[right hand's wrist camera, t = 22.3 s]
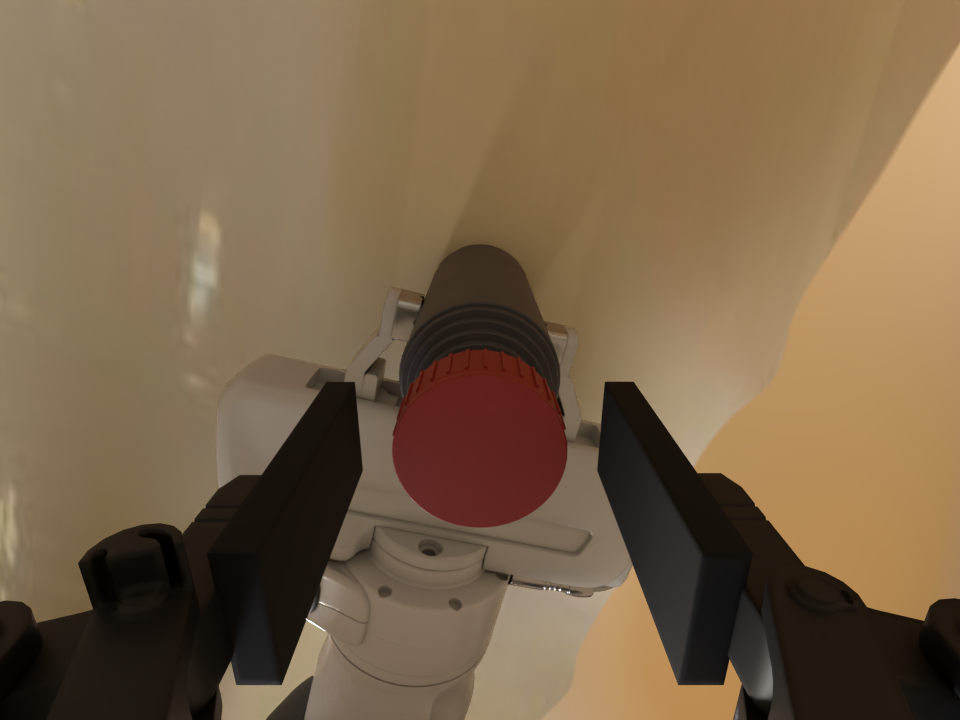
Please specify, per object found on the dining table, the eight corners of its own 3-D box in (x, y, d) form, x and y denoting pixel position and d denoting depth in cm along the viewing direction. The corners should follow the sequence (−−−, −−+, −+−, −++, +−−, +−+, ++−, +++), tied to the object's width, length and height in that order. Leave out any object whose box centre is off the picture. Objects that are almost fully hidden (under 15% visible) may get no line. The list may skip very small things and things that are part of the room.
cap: (410, 334, 14) (400, 358, 12) (576, 361, 14) (589, 388, 12) (391, 478, 15) (380, 516, 14) (541, 500, 16) (548, 540, 14)
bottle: (501, 355, 30) (524, 556, 15) (415, 315, 29) (344, 485, 14) (546, 271, 28) (623, 400, 13) (456, 227, 28) (426, 309, 12)
